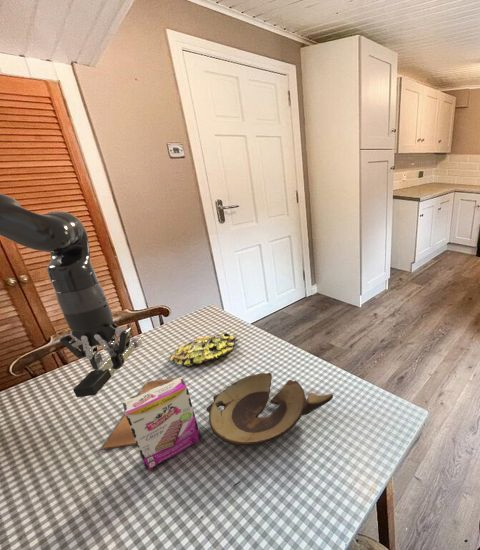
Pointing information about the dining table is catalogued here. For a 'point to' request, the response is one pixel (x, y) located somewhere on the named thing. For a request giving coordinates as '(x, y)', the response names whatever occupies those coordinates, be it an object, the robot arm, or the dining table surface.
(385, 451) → the dining table surface
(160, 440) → the candy bar box
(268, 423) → the brown shallow dish
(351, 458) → the dining table surface
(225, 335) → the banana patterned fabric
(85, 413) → the dining table surface
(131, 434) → the cork mat
